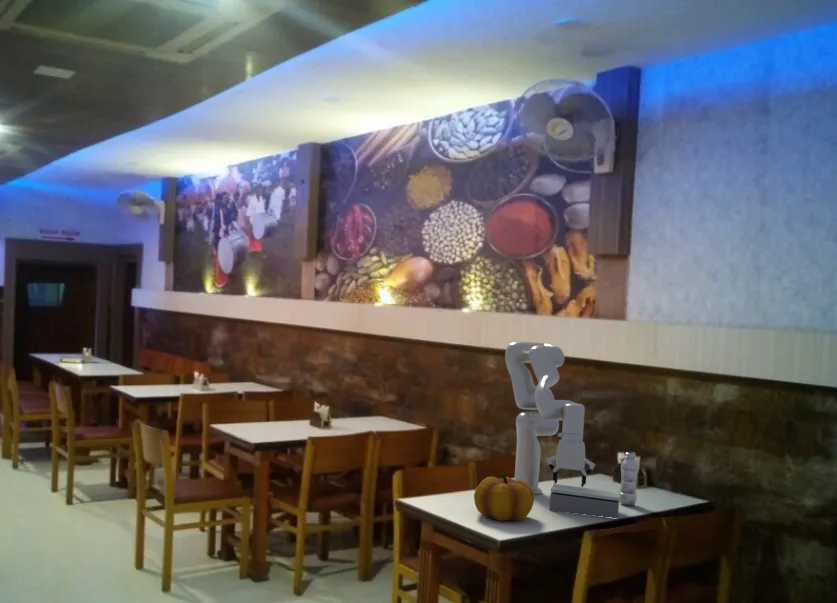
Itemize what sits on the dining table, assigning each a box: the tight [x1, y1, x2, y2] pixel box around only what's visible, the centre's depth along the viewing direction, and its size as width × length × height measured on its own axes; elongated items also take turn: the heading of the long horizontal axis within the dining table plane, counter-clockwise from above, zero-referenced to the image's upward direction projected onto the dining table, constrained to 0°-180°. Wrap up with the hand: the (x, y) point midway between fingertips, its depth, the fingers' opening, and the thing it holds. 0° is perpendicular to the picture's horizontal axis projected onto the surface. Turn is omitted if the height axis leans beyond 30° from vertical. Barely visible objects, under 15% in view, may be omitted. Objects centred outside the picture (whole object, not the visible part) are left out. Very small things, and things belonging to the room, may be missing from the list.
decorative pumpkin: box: [473, 473, 535, 522], centre depth 267 cm, size 20×22×15 cm
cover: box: [550, 483, 620, 501], centre depth 283 cm, size 24×12×1 cm, turn 74°
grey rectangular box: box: [549, 491, 620, 520], centre depth 283 cm, size 24×12×6 cm, turn 74°
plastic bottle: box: [619, 451, 639, 506], centre depth 297 cm, size 6×7×20 cm
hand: (569, 484), depth 282 cm, fingers open, 9 cm apart
